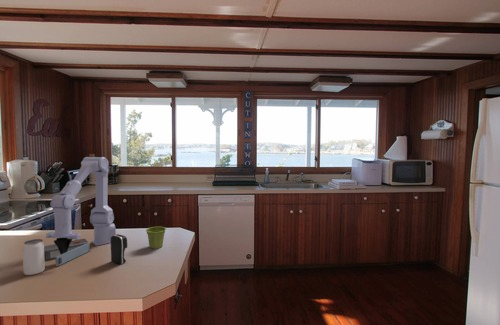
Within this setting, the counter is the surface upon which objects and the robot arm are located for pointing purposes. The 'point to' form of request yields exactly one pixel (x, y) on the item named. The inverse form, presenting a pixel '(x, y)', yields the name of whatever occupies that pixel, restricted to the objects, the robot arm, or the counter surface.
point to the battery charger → (118, 248)
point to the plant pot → (155, 236)
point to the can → (33, 257)
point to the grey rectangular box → (53, 250)
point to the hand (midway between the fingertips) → (63, 255)
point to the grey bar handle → (72, 254)
